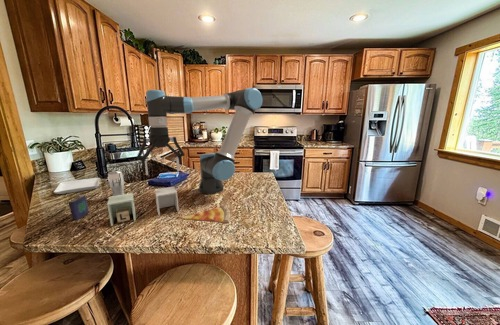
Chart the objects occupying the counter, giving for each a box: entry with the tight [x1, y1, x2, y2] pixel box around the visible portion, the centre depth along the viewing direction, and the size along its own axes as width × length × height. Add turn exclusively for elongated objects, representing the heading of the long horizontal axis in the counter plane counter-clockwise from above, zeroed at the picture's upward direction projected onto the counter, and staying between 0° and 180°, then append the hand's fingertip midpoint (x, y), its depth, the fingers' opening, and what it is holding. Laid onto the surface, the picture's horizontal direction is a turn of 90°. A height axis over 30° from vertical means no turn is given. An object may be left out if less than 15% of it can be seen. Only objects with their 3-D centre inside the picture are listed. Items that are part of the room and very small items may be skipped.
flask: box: [68, 193, 90, 222], centre depth 93 cm, size 9×3×11 cm, turn 8°
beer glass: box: [107, 170, 125, 196], centre depth 112 cm, size 7×7×15 cm
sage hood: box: [106, 192, 137, 227], centre depth 89 cm, size 9×9×10 cm
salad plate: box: [53, 177, 100, 195], centre depth 131 cm, size 21×21×3 cm
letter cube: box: [116, 207, 131, 223], centre depth 90 cm, size 5×4×4 cm
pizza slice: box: [180, 203, 231, 224], centre depth 96 cm, size 16×22×2 cm
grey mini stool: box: [154, 186, 180, 217], centre depth 98 cm, size 9×9×10 cm
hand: (163, 172), depth 95 cm, fingers open, 13 cm apart
